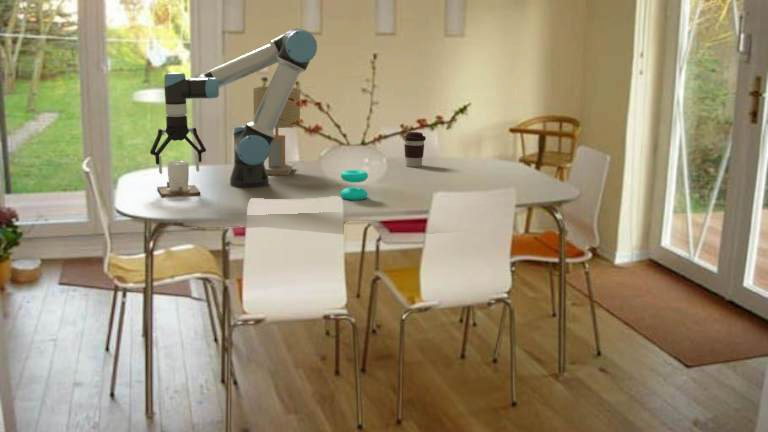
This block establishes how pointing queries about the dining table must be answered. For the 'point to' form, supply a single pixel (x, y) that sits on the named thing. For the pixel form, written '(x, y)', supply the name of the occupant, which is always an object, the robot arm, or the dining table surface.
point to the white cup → (178, 174)
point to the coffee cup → (414, 149)
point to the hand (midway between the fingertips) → (179, 172)
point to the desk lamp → (277, 147)
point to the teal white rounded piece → (354, 192)
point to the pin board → (167, 192)
